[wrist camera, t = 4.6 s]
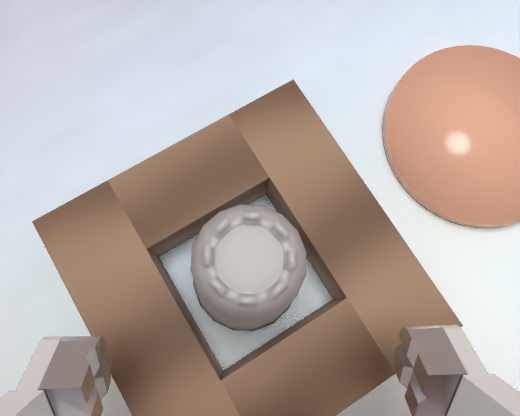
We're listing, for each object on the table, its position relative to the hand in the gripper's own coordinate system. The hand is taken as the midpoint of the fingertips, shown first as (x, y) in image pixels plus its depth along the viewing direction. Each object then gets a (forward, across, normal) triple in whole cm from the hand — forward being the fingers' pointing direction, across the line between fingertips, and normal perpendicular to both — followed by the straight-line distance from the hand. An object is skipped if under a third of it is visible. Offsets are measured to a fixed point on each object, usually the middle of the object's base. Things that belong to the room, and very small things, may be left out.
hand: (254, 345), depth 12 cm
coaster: (+11, -11, -2) cm, 16 cm away
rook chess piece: (+6, 0, +3) cm, 7 cm away
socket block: (+6, 0, +3) cm, 7 cm away
